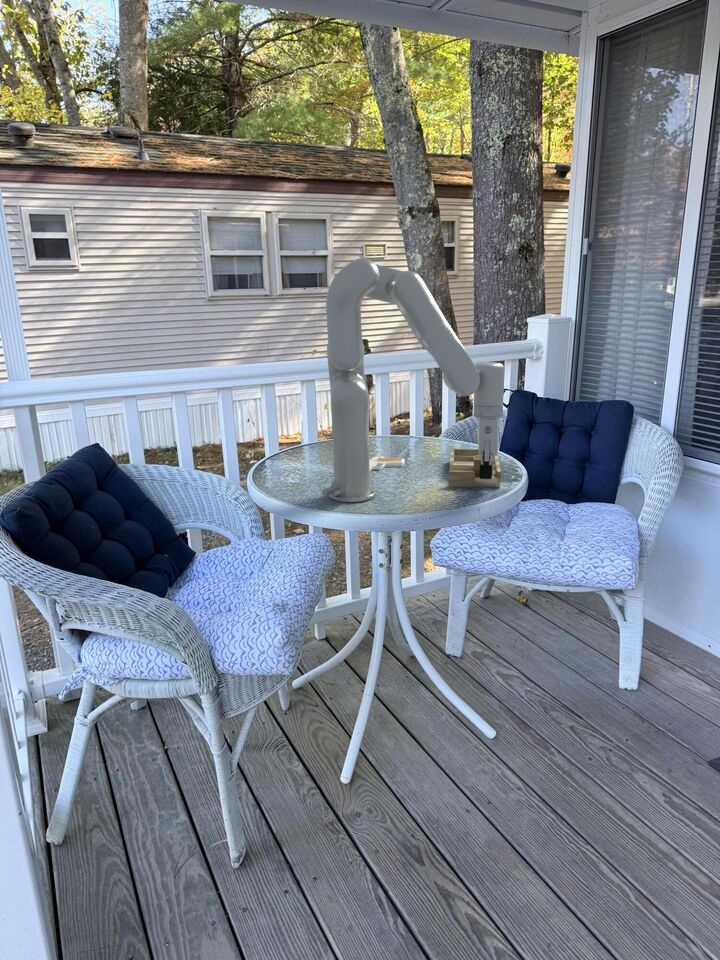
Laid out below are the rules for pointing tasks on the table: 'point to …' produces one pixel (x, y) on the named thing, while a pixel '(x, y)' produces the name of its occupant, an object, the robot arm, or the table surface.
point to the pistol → (385, 463)
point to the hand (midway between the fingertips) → (485, 478)
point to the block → (477, 465)
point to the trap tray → (470, 470)
